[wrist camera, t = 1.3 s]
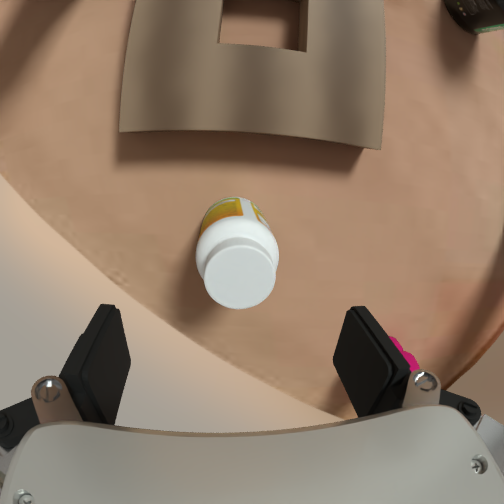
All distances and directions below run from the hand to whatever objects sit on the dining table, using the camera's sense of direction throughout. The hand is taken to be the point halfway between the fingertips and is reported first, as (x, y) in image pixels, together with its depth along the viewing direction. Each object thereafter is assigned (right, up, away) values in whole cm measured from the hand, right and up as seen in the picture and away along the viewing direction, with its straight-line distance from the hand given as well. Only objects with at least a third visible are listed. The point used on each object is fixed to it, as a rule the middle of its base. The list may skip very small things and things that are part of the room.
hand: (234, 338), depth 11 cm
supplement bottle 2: (+26, +33, +5) cm, 42 cm away
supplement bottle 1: (-1, +6, +14) cm, 15 cm away
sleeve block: (+1, +22, +7) cm, 23 cm away
